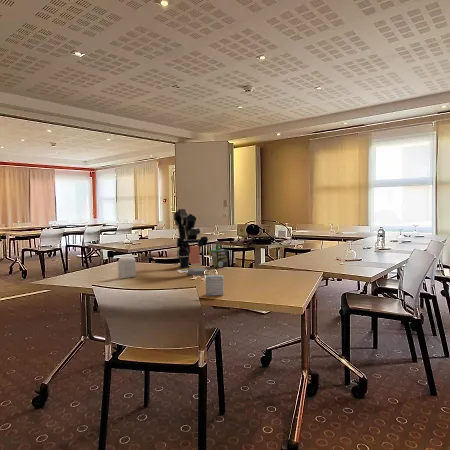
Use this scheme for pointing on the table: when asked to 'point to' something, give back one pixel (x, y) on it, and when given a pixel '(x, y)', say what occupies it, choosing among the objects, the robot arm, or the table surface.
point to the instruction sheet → (182, 271)
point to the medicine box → (214, 285)
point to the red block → (194, 255)
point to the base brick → (196, 271)
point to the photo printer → (127, 267)
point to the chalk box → (219, 257)
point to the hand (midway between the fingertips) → (194, 252)
